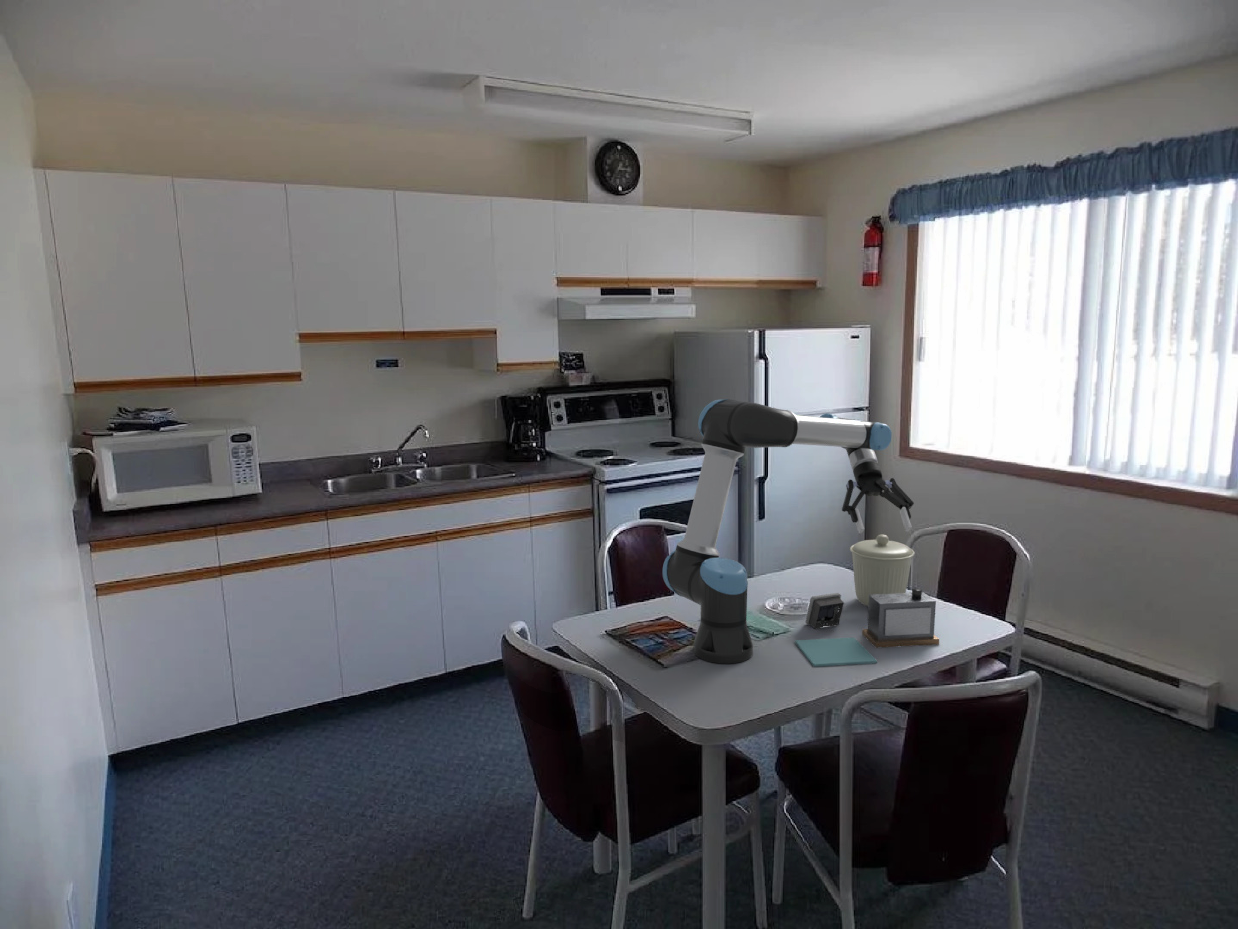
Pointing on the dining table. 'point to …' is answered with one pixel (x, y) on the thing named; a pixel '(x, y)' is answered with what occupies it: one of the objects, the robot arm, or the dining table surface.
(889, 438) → the robot arm
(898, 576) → the canister
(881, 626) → the junction box
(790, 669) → the dining table surface
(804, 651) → the service mat
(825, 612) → the electrical switch
